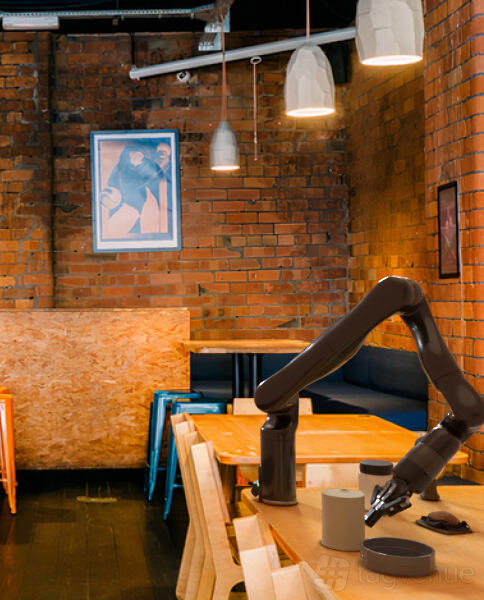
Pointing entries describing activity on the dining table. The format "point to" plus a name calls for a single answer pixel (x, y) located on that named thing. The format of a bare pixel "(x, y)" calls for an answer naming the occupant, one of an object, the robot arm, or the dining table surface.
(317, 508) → the dining table surface
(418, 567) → the pan
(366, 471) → the jar
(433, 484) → the kendama
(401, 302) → the robot arm
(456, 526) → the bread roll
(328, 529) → the can
